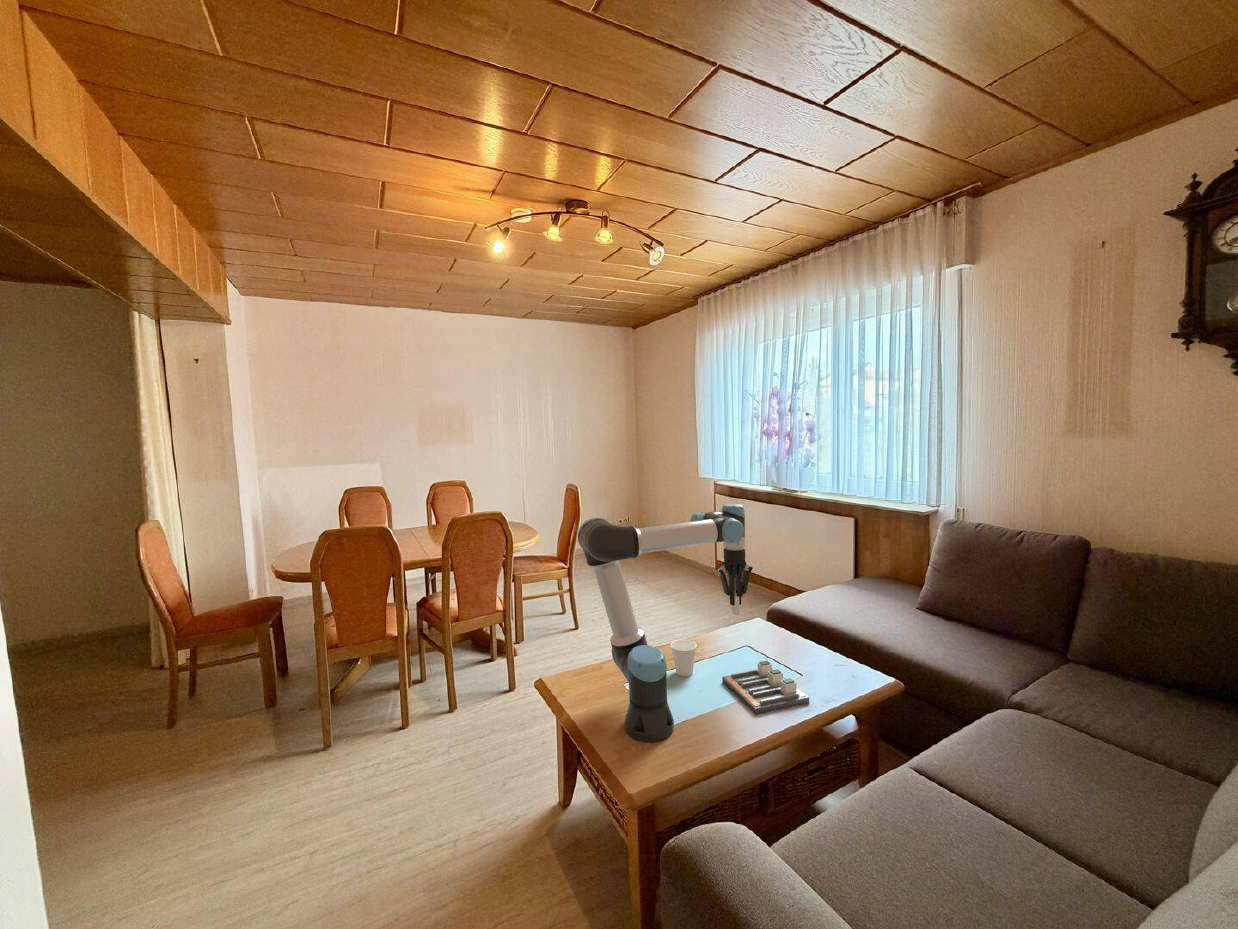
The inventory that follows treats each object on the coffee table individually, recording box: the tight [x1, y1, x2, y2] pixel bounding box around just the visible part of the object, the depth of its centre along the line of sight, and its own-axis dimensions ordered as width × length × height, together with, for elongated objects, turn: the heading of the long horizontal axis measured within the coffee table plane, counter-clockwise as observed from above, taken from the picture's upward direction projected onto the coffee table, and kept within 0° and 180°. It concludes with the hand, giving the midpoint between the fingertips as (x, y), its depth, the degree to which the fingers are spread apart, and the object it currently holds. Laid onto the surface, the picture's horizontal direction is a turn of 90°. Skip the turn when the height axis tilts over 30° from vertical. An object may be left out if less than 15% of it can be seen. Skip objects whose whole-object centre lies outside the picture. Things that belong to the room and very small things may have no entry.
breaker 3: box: [781, 677, 798, 695], centre depth 162 cm, size 4×3×4 cm
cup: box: [669, 639, 698, 678], centre depth 183 cm, size 10×10×11 cm
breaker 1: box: [757, 660, 773, 676], centre depth 175 cm, size 4×3×4 cm
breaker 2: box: [768, 668, 784, 685], centre depth 168 cm, size 4×3×4 cm
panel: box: [721, 668, 810, 716], centre depth 167 cm, size 20×22×3 cm
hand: (735, 613), depth 172 cm, fingers closed
